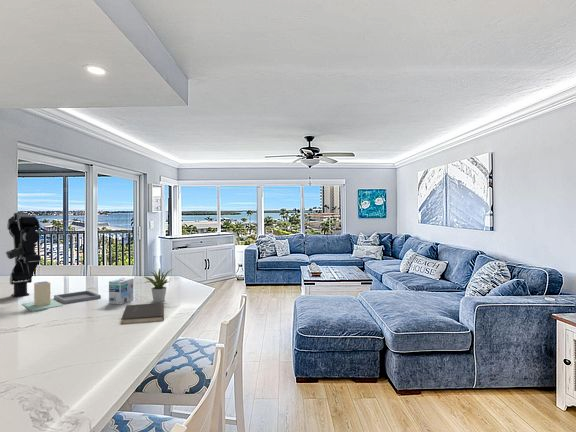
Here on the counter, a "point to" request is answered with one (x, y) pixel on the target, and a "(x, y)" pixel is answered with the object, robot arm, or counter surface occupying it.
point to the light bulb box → (121, 290)
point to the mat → (38, 308)
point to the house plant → (158, 286)
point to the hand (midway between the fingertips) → (27, 274)
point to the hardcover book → (143, 313)
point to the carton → (42, 293)
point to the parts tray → (77, 297)
